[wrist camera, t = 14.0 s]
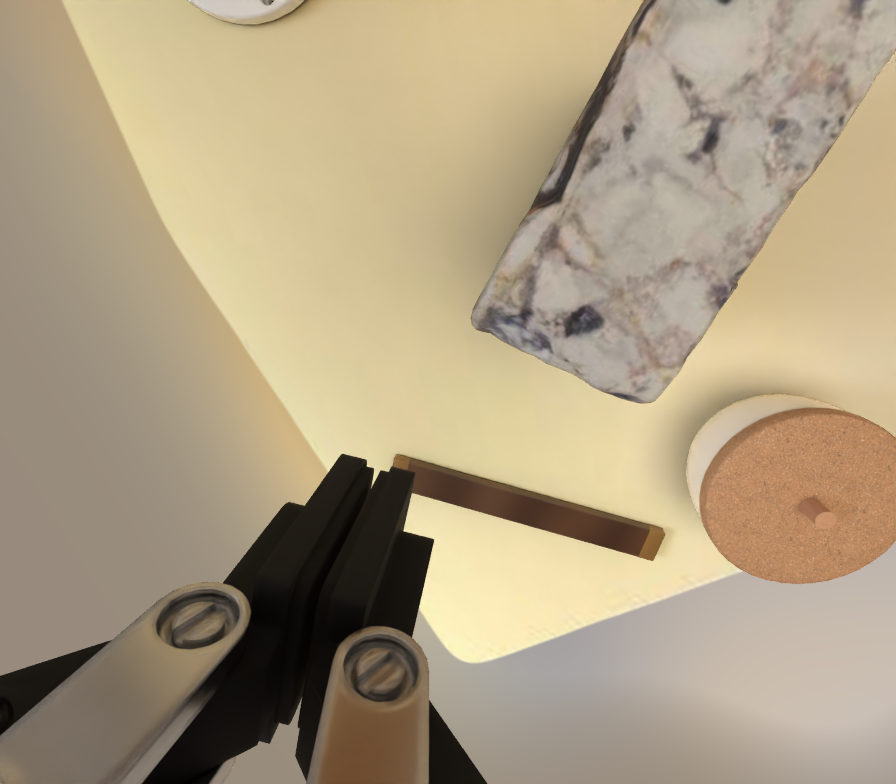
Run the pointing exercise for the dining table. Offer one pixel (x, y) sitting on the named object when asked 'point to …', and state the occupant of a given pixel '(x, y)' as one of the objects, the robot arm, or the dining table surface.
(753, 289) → the dining table surface
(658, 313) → the stone block
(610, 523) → the walnut straight-edge
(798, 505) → the trinket box
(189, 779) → the robot arm
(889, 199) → the dining table surface
